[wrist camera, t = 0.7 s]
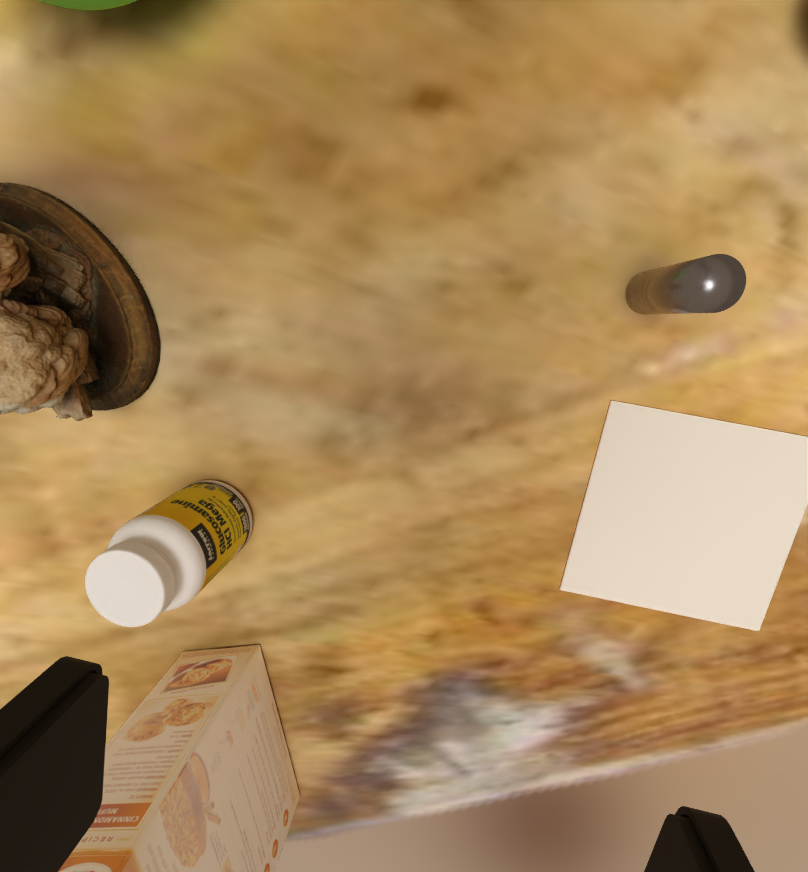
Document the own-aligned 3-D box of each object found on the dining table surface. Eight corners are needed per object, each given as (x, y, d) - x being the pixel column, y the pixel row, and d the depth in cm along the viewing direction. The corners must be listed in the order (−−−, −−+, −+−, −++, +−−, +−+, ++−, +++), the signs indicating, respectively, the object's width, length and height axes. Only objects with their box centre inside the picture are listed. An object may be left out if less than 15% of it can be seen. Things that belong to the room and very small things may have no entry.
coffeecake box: (179, 649, 42) (-47, 918, 23) (262, 641, 41) (95, 914, 22) (225, 801, 45) (56, 1149, 26) (303, 797, 44) (186, 1155, 25)
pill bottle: (271, 519, 39) (200, 596, 28) (219, 569, 40) (132, 660, 30) (211, 460, 38) (115, 515, 28) (160, 513, 40) (49, 585, 29)
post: (632, 268, 32) (695, 249, 24) (674, 275, 32) (753, 259, 24) (620, 310, 33) (678, 307, 24) (662, 317, 33) (735, 317, 24)
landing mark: (610, 400, 34) (611, 400, 34) (829, 440, 34) (831, 441, 33) (559, 588, 38) (560, 589, 37) (757, 629, 37) (758, 631, 37)
